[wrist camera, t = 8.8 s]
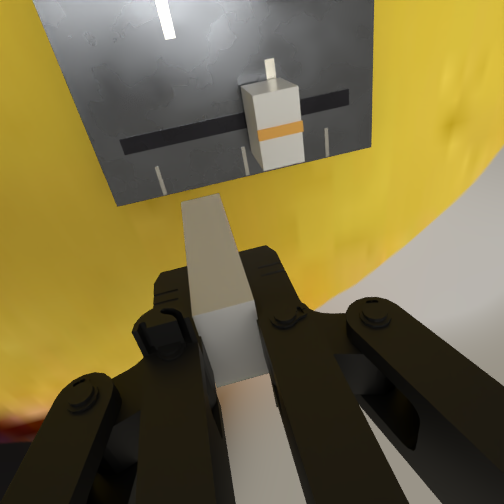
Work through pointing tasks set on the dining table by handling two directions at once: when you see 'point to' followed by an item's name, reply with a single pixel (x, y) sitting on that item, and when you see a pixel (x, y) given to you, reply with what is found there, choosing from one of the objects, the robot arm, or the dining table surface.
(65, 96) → the dining table surface
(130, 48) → the console
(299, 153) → the fader
